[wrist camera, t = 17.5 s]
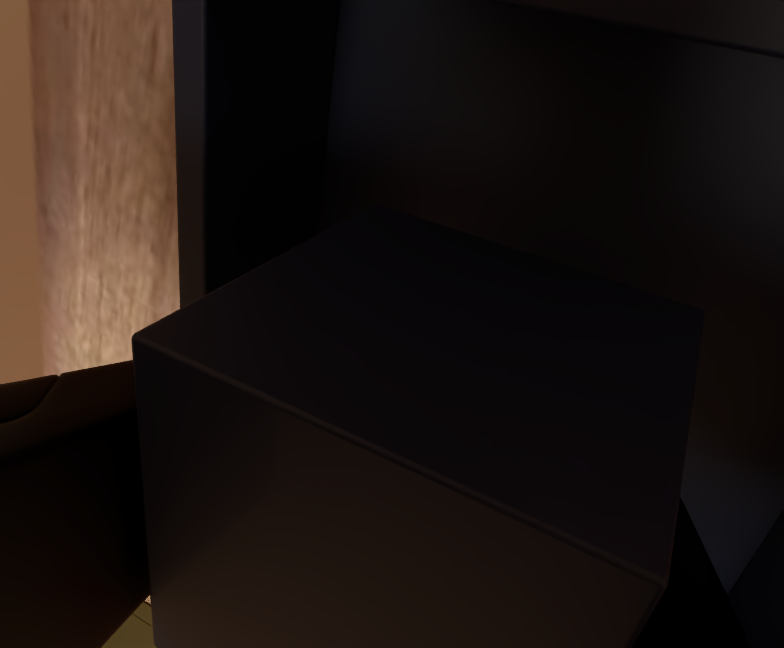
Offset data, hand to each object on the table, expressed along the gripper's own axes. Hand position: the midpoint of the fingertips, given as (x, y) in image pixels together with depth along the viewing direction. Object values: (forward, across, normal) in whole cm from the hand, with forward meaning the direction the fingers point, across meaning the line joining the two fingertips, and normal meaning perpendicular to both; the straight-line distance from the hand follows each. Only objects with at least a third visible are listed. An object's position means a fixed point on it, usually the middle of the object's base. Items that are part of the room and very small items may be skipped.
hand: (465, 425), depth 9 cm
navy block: (+1, 0, 0) cm, 1 cm away
